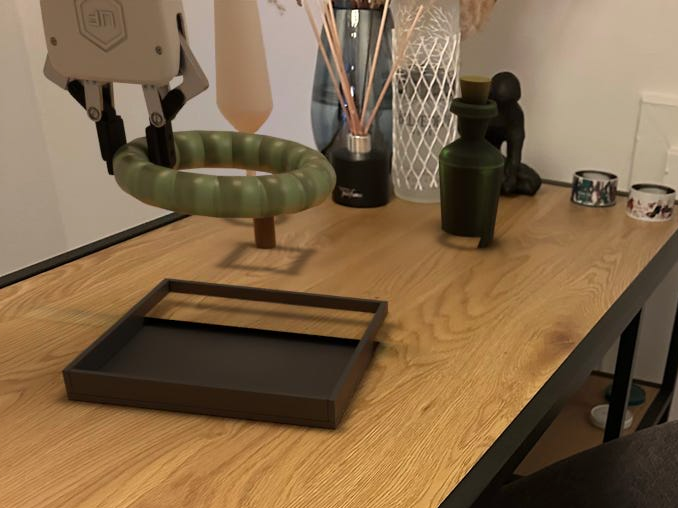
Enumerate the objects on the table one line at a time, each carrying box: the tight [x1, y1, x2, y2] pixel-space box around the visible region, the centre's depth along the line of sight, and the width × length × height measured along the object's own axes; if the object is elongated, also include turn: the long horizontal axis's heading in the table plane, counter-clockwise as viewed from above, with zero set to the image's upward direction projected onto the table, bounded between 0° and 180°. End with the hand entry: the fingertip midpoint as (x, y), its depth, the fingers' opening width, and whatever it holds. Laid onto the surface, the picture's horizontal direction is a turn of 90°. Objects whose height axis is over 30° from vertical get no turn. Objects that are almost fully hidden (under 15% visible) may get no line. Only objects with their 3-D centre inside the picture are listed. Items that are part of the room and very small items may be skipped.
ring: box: [113, 129, 337, 219], centre depth 79 cm, size 18×18×3 cm
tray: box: [61, 277, 389, 430], centre depth 87 cm, size 23×23×3 cm
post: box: [252, 216, 277, 250], centre depth 108 cm, size 8×8×5 cm
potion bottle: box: [437, 75, 505, 249], centre depth 114 cm, size 8×8×18 cm
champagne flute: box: [213, 0, 274, 176], centre depth 114 cm, size 7×7×24 cm
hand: (141, 171), depth 80 cm, fingers closed on ring, 3 cm apart
